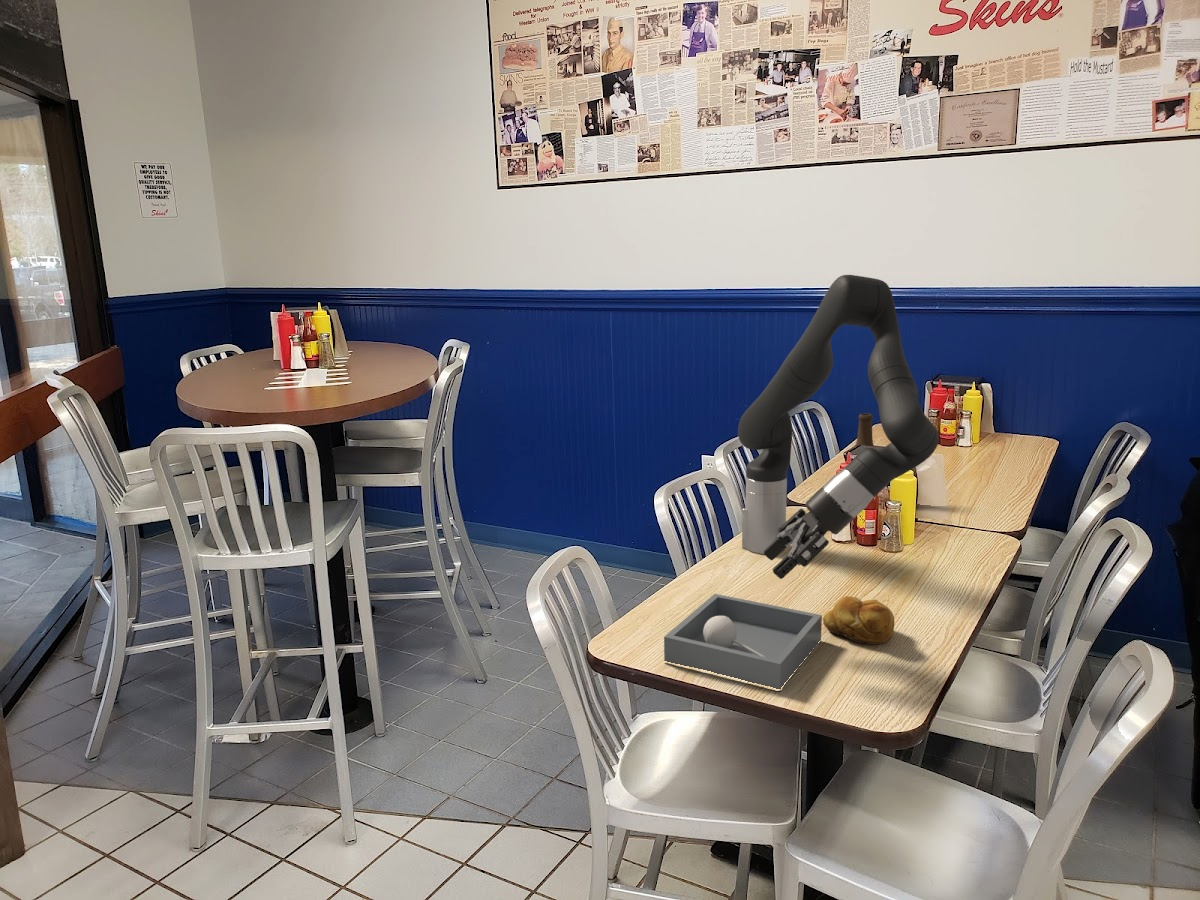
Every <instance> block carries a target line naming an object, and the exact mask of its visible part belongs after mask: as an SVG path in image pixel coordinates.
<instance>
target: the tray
mask: <svg viewBox="0 0 1200 900" xmlns="http://www.w3.org/2000/svg"><path fill="white" fill-rule="evenodd" d="M715 616H726V617H729V618H730V620H731V621H732V622H733V623H734V625H735V627H736V630H737V636H736V641H738V642H740V643H742V644H744V645H745V646H747V647H749V648H751V649H752V650H754V651H756V652H758V653H759V654H761V655H763V656H765V657H763V656H759V655H756V654H754V653H752V652H750V651H749V650H747V649H745V648H743V647H742V646H740V645H738V644H736V643H735V642H734V643H733V644H732V645H731V646H730V647H729V648H725V647H721V646H716V645H712V644H708V643H706V641H705V639H704V636H703V629H704V626H705V624H706V622H707V621H708V620H709V619H710V618H712V617H715ZM822 616H823V615H822V614H818V613H813V612H809V611H808V612H807V611H803V610H797V609H793V608H787V607H783V606H778V605H774V604H773V605H772V604H768V603H764V602H758V601H754V600H753V601H752V600H749V599H745V598H743V599H742V598H738V597H733V596H730V595H723V594H718V593H714V594H712V595H711V596H710V597H708V599H706V600H704V602H703V603H701V604H700V605H699V607H697V608H696V609H695V610H694V611H692V612H691V613H690V614H689V615H688V616H686V617H685V618H684V619H683V620H682V621H681V622H679V624H677V625H675V626H674V628H672V629H671V630H670V631H669V632H668V633H667V634H666V635H664V636H663V647H664V648H663V649H664V650H663V652H664V656H663V657H664V658H663V659H664V661H667V662H671V663H675V664H680V665H684V666H689V667H694V668H698V669H703V670H707V671H711V672H714V673H717V674H722V675H726V676H730V677H734V678H738V679H741V680H745V681H748V682H752V683H757V684H761V685H765V686H770V687H773V688H776V689H781V687H782V686H783V685H784V683H785V682H786V681H787V680H788V679H789V677H790V676H791V675H792V674H793V673H794V671H795V670H796V669H797V668H798V667H799V665H800V664H801V663H802V662H803V661H804V659H805V658H806V657H807V656H808V655H809V653H810V652H811V651H812V650H813V648H814V647H815V646H816V645H817V644H818V642H819V641H820V640H821V641H822V627H823V626H822V623H823V622H822V621H823V620H822V619H823V617H822ZM821 641H820V642H821ZM818 645H819V644H818ZM818 645H817V646H818ZM817 646H816V647H817ZM813 651H814V650H813ZM813 651H812V652H813ZM809 656H810V655H809ZM809 656H808V657H809ZM804 662H805V661H804Z"/></svg>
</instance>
